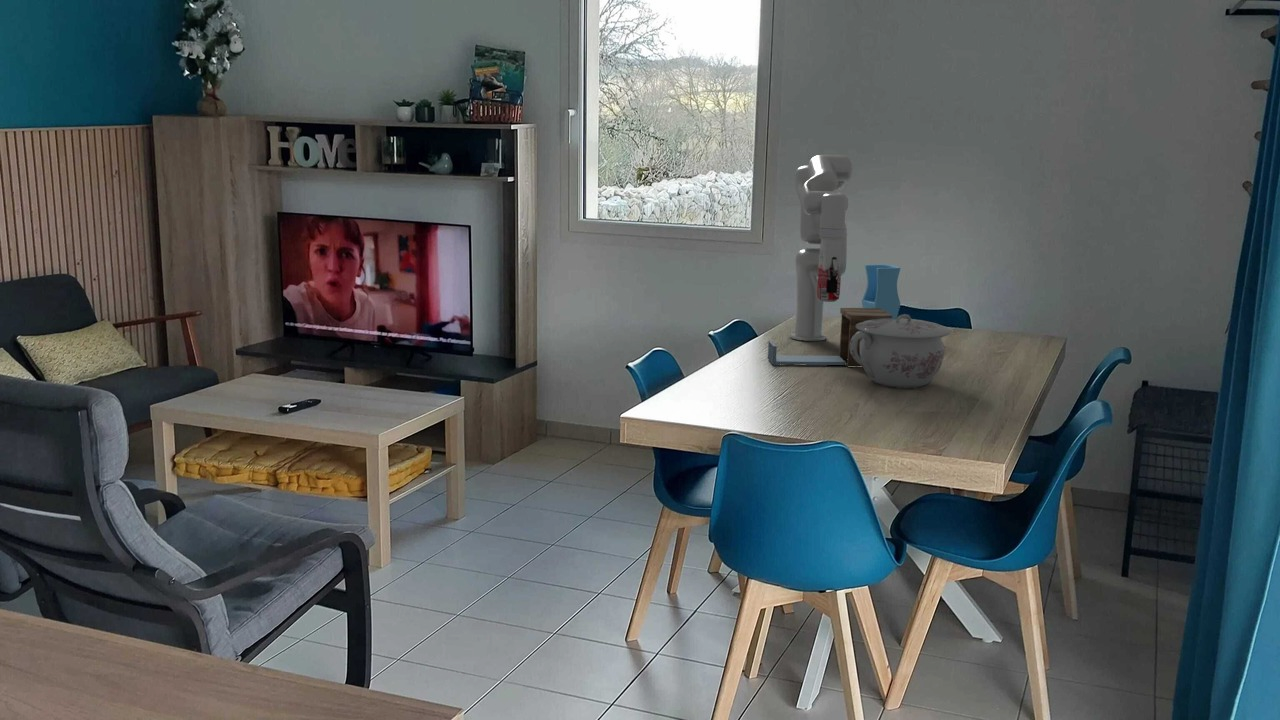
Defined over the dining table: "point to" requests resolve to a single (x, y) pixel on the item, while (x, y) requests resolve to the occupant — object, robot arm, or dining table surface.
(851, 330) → the open wooden box
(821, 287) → the soda can
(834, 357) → the blue-grey l-shaped bracket
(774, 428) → the dining table surface
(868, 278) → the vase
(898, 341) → the chamber pot
